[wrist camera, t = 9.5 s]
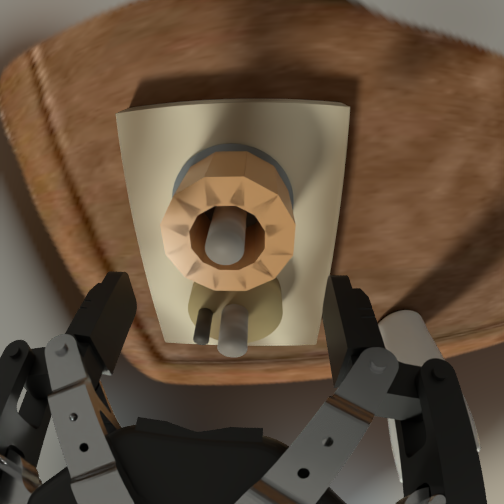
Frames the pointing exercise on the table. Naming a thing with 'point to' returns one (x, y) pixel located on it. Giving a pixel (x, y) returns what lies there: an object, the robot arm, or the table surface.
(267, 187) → the gear
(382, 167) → the table surface
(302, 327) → the gear board
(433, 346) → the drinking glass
